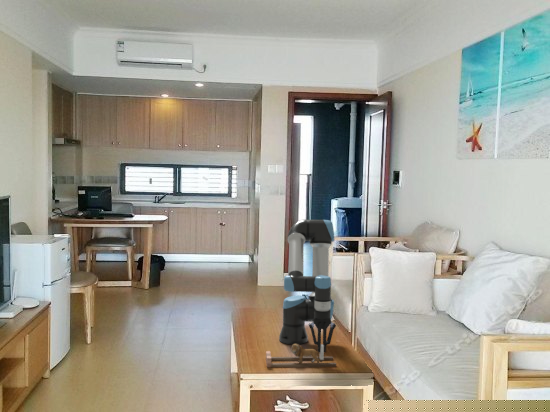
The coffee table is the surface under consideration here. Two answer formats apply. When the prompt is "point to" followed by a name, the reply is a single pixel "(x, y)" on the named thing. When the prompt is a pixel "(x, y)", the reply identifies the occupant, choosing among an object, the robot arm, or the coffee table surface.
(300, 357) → the lion figurine
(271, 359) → the track
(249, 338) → the coffee table surface
